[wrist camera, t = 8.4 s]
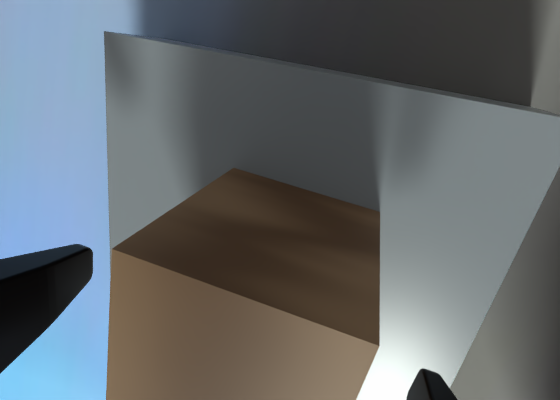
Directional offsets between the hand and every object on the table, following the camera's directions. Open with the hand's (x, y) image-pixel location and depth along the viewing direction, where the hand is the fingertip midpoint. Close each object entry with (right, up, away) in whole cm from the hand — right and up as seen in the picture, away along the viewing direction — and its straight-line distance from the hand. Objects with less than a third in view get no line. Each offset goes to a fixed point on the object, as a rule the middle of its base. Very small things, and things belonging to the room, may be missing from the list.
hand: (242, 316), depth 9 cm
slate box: (+2, +3, +7) cm, 8 cm away
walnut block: (+1, +1, +3) cm, 4 cm away
